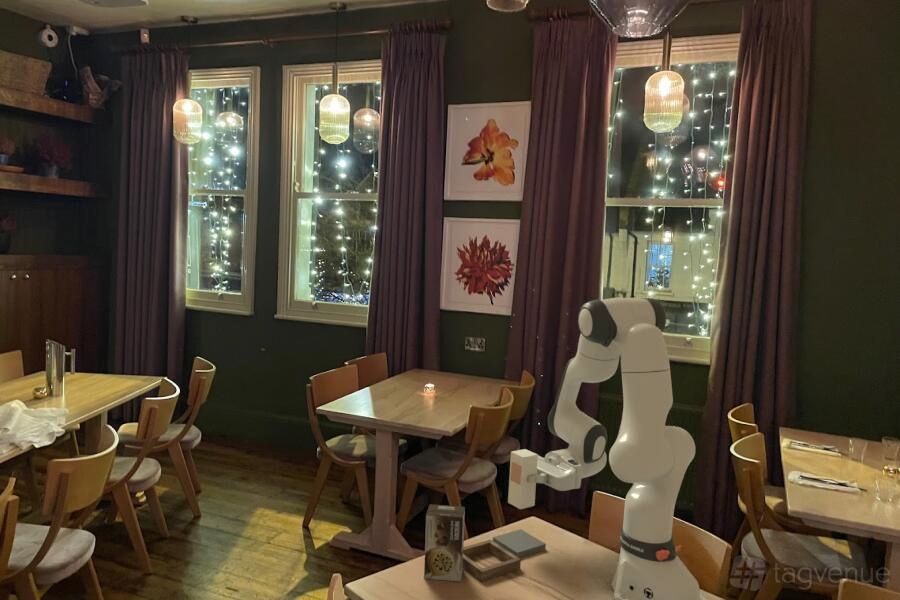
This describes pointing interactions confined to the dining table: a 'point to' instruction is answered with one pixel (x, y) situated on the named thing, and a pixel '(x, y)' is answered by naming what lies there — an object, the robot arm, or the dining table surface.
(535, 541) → the blue-grey square slab
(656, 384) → the robot arm
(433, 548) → the coffee box
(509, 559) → the walnut crate
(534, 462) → the off-white box
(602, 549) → the dining table surface
